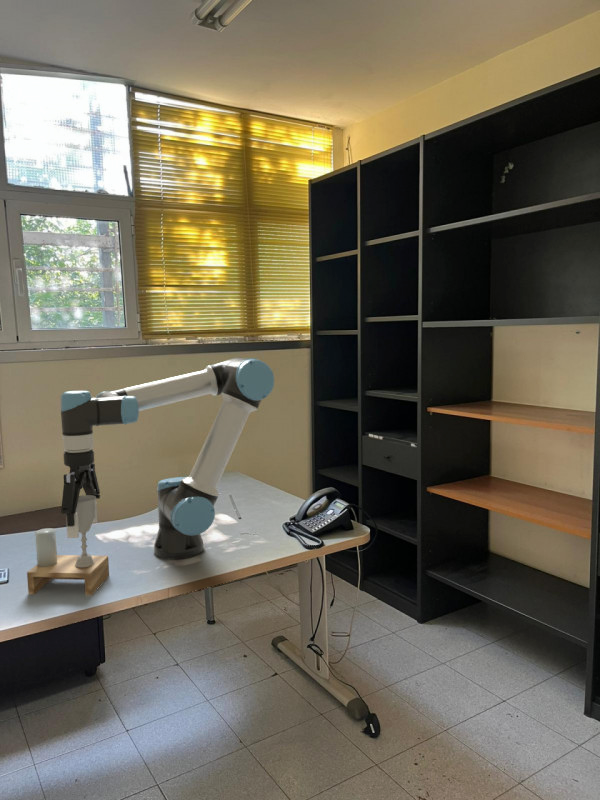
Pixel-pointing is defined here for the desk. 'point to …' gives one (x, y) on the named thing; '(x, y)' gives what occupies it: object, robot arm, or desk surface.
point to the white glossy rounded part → (46, 547)
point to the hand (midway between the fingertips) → (83, 529)
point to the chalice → (85, 526)
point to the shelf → (70, 573)
